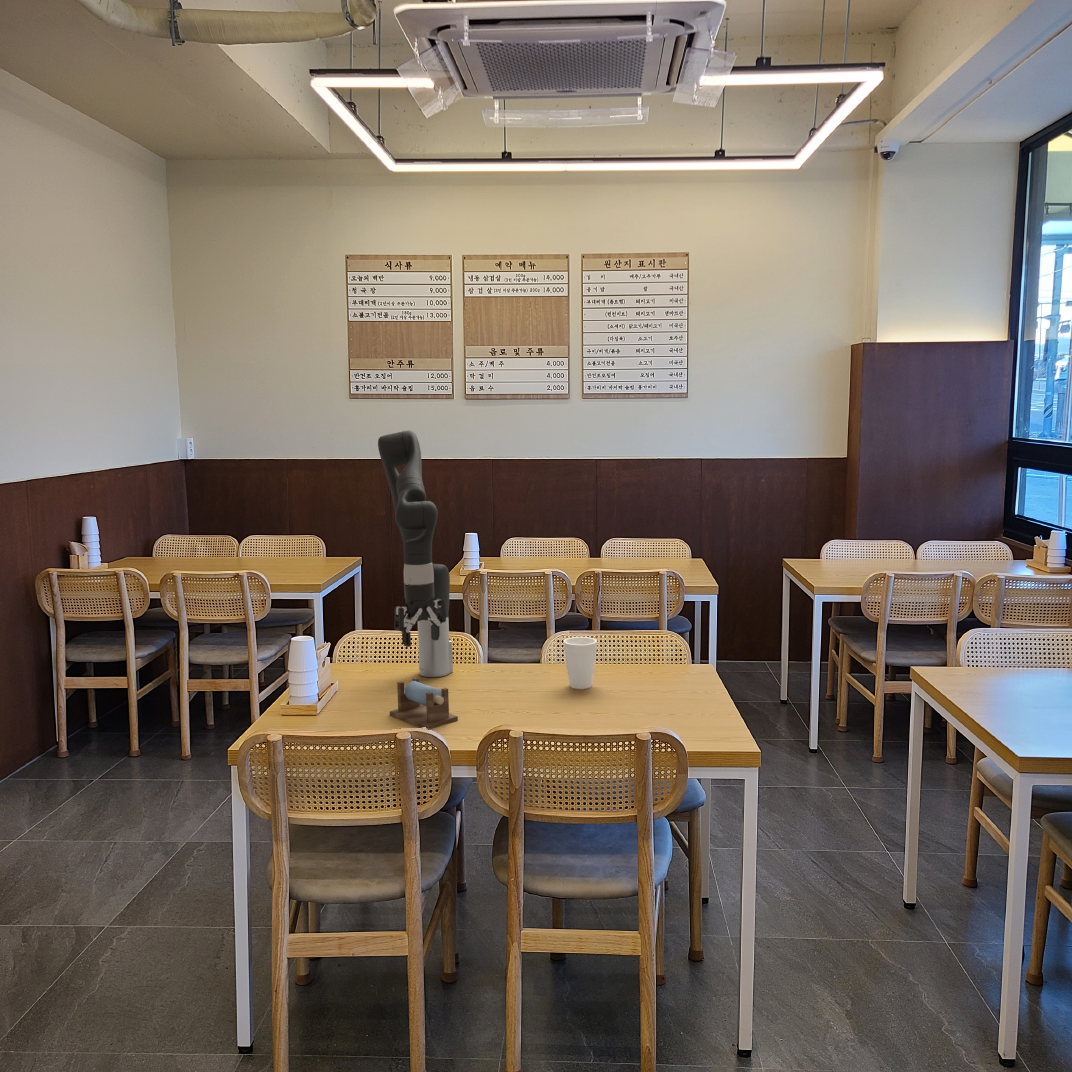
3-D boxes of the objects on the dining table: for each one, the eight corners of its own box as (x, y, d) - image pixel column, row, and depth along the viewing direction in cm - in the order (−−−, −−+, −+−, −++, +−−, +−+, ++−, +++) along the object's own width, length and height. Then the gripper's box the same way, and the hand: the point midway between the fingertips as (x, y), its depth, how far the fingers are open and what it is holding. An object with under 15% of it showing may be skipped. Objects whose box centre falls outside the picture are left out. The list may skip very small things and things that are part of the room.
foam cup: (602, 682, 267) (601, 638, 265) (590, 692, 259) (589, 646, 257) (571, 679, 271) (571, 635, 269) (559, 688, 263) (558, 643, 261)
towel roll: (397, 696, 243) (403, 677, 243) (412, 699, 246) (418, 681, 247) (430, 708, 232) (436, 689, 233) (445, 712, 235) (451, 692, 236)
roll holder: (389, 714, 242) (388, 683, 241) (421, 706, 249) (420, 675, 248) (425, 729, 231) (424, 696, 229) (457, 720, 237) (456, 687, 236)
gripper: (433, 574, 242) (435, 635, 245) (386, 582, 233) (389, 645, 235) (450, 578, 237) (452, 640, 239) (403, 586, 227) (406, 651, 230)
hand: (421, 643), depth 237 cm, fingers open, 8 cm apart
